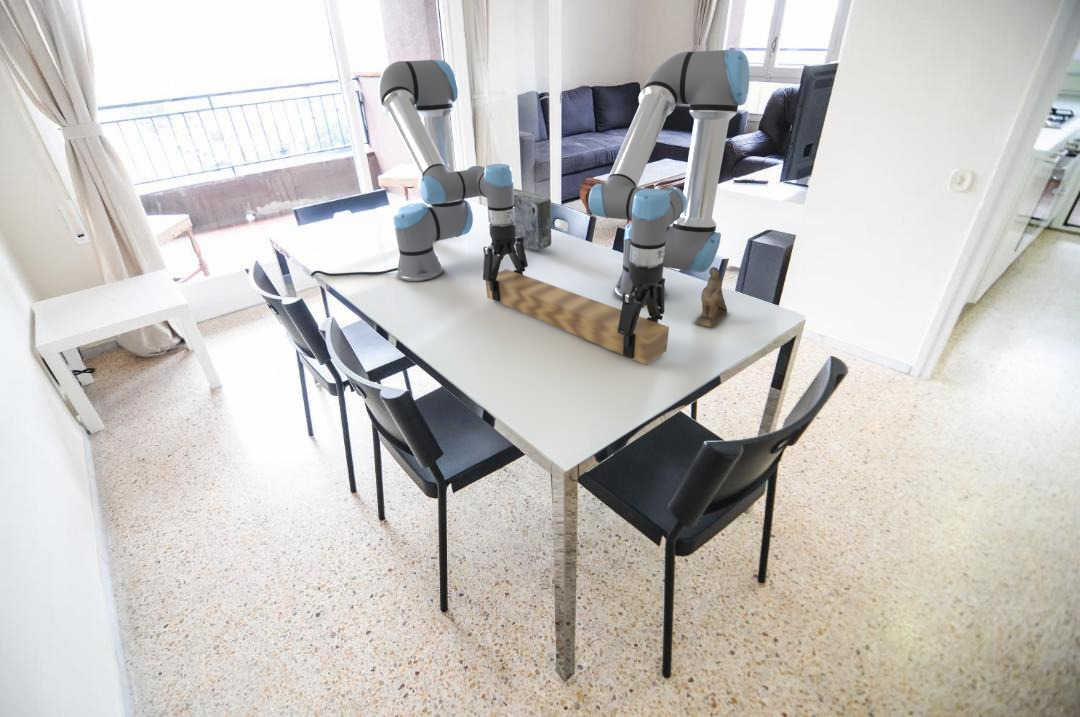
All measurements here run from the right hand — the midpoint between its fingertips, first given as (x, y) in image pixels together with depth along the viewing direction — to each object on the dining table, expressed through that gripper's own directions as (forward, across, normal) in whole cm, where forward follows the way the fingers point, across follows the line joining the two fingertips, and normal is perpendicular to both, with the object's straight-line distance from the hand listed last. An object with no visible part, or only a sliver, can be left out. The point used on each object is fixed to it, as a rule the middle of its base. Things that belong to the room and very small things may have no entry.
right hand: (639, 348), depth 123 cm
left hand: (0, 0, +49) cm, 49 cm away
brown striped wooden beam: (+1, 0, +24) cm, 24 cm away
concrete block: (+2, +39, +81) cm, 90 cm away
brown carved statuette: (+2, +30, -3) cm, 30 cm away
